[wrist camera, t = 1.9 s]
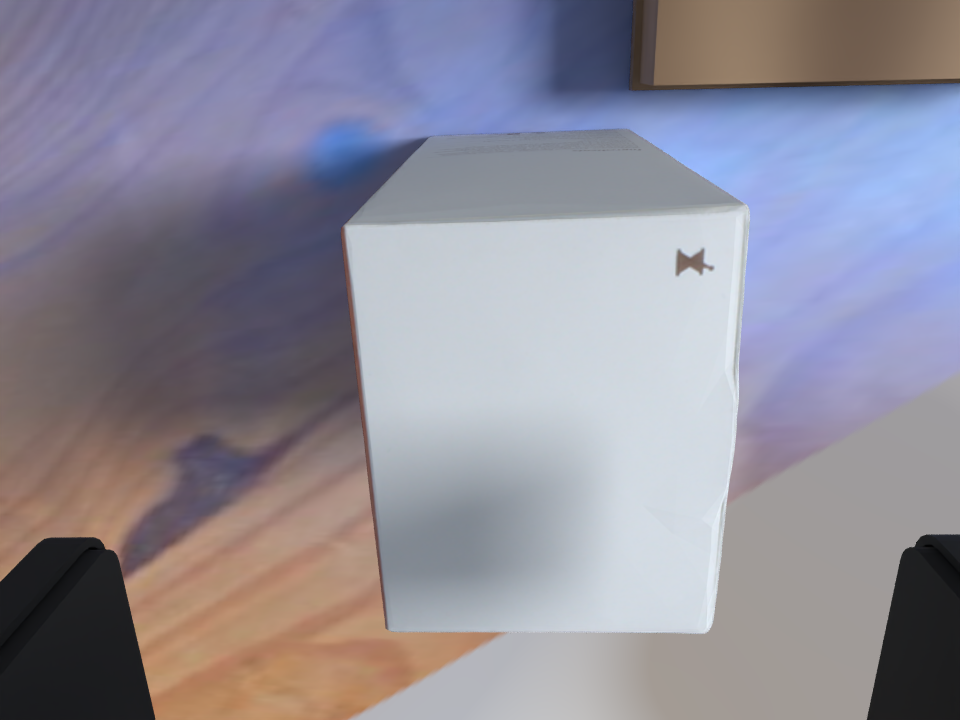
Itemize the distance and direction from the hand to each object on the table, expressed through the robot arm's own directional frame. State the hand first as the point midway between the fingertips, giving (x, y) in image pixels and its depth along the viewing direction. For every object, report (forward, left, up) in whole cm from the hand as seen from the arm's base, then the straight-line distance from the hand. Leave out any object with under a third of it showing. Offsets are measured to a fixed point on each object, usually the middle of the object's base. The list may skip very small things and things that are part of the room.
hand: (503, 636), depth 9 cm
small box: (-1, 0, -17) cm, 17 cm away
